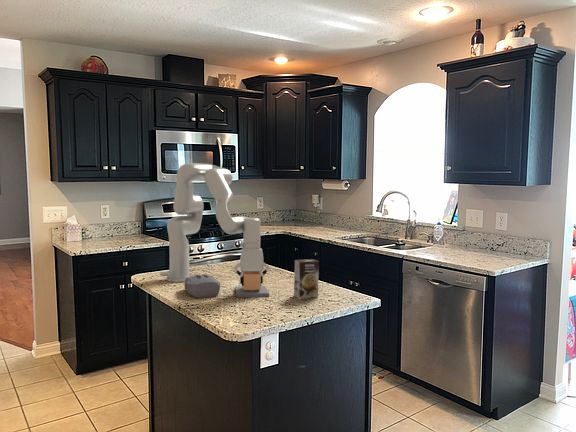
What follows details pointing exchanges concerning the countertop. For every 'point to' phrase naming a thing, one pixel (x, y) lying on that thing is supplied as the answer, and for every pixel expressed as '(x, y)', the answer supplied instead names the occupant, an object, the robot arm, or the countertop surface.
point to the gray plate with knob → (251, 292)
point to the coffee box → (306, 278)
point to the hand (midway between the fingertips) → (251, 284)
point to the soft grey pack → (202, 286)
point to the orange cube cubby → (252, 281)
